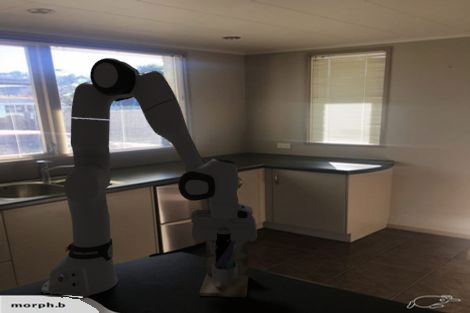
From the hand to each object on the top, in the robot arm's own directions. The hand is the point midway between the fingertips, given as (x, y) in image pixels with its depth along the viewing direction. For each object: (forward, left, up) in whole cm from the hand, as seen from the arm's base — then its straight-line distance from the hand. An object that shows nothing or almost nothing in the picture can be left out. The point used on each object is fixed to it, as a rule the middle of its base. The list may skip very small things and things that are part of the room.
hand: (224, 253), depth 111 cm
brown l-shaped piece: (0, 0, -11) cm, 11 cm away
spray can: (0, 0, -10) cm, 10 cm away
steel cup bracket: (0, +1, -10) cm, 10 cm away
